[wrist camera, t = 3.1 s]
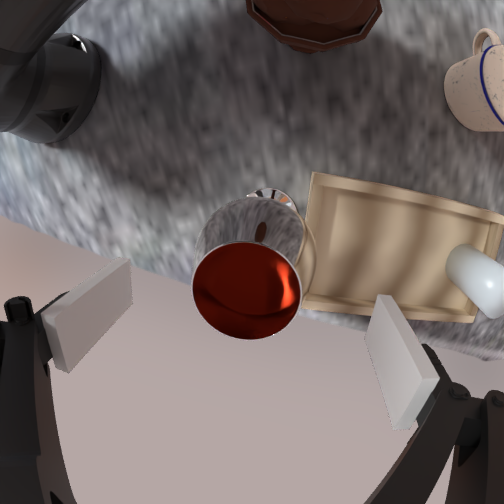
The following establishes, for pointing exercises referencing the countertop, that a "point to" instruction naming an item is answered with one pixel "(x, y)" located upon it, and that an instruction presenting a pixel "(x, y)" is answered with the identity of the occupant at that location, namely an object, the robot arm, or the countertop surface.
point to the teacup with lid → (478, 86)
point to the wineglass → (253, 266)
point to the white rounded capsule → (477, 278)
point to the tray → (392, 248)
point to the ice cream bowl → (316, 21)
